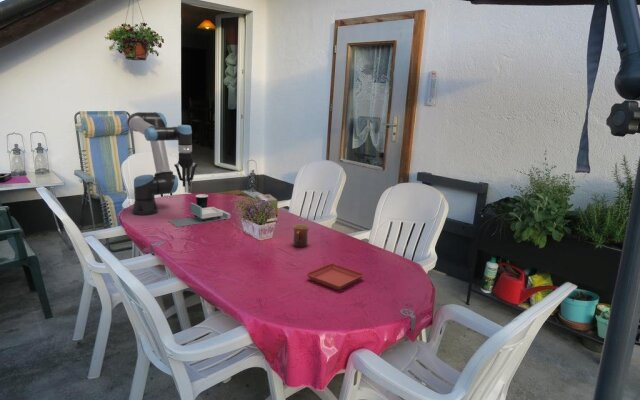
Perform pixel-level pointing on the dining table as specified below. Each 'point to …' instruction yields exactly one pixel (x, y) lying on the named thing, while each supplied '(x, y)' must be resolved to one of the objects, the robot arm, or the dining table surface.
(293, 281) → the dining table surface
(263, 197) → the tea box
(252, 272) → the dining table surface
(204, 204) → the dixie cup
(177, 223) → the track
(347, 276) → the plant saucer
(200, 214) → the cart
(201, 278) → the dining table surface
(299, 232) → the mug
